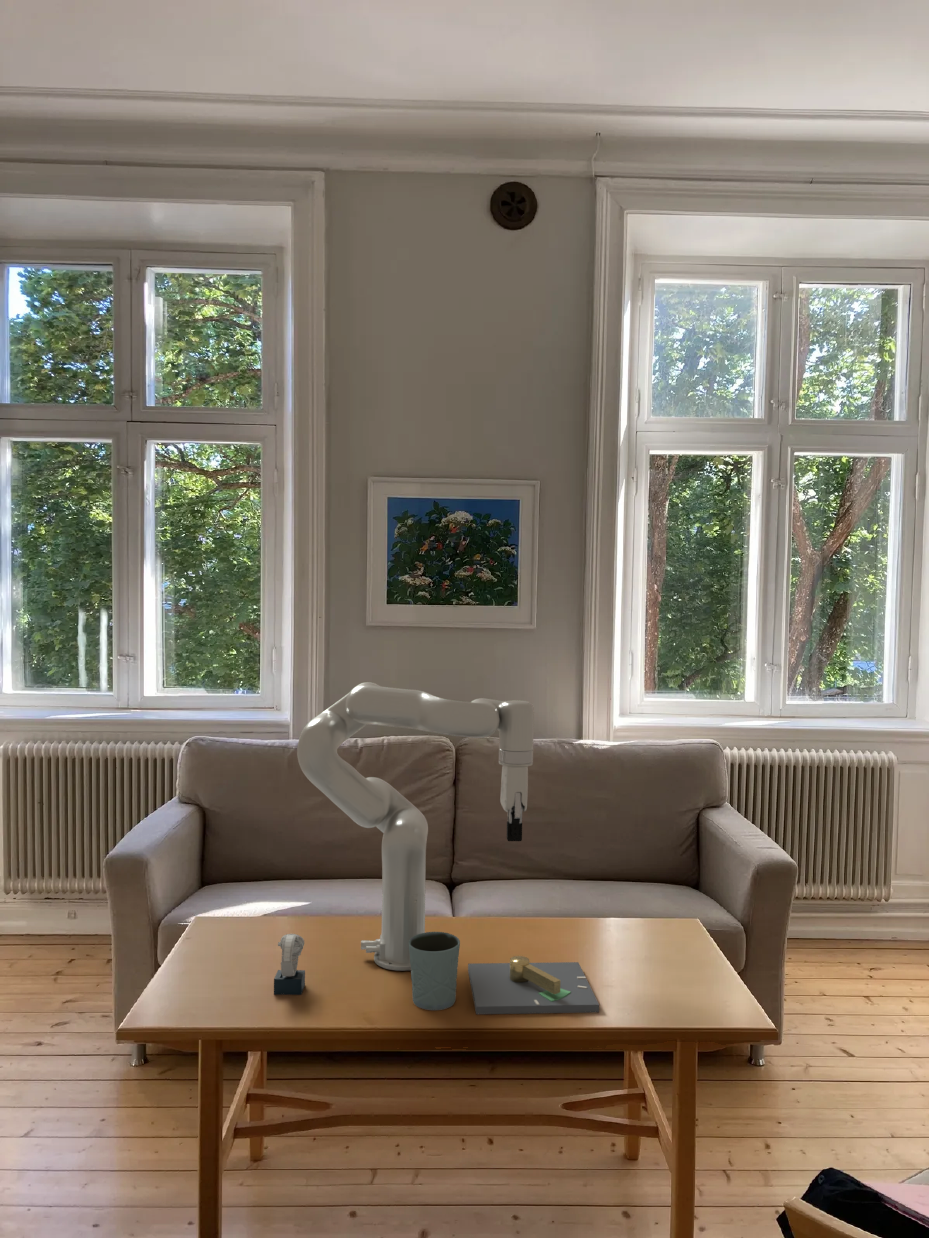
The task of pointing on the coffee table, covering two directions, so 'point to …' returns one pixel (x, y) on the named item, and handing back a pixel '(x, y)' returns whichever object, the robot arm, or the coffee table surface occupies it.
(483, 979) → the dial plate
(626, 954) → the coffee table surface
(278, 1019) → the coffee table surface
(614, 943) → the coffee table surface
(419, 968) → the teal cup
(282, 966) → the grey and black figurine
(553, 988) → the needle
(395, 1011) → the coffee table surface
